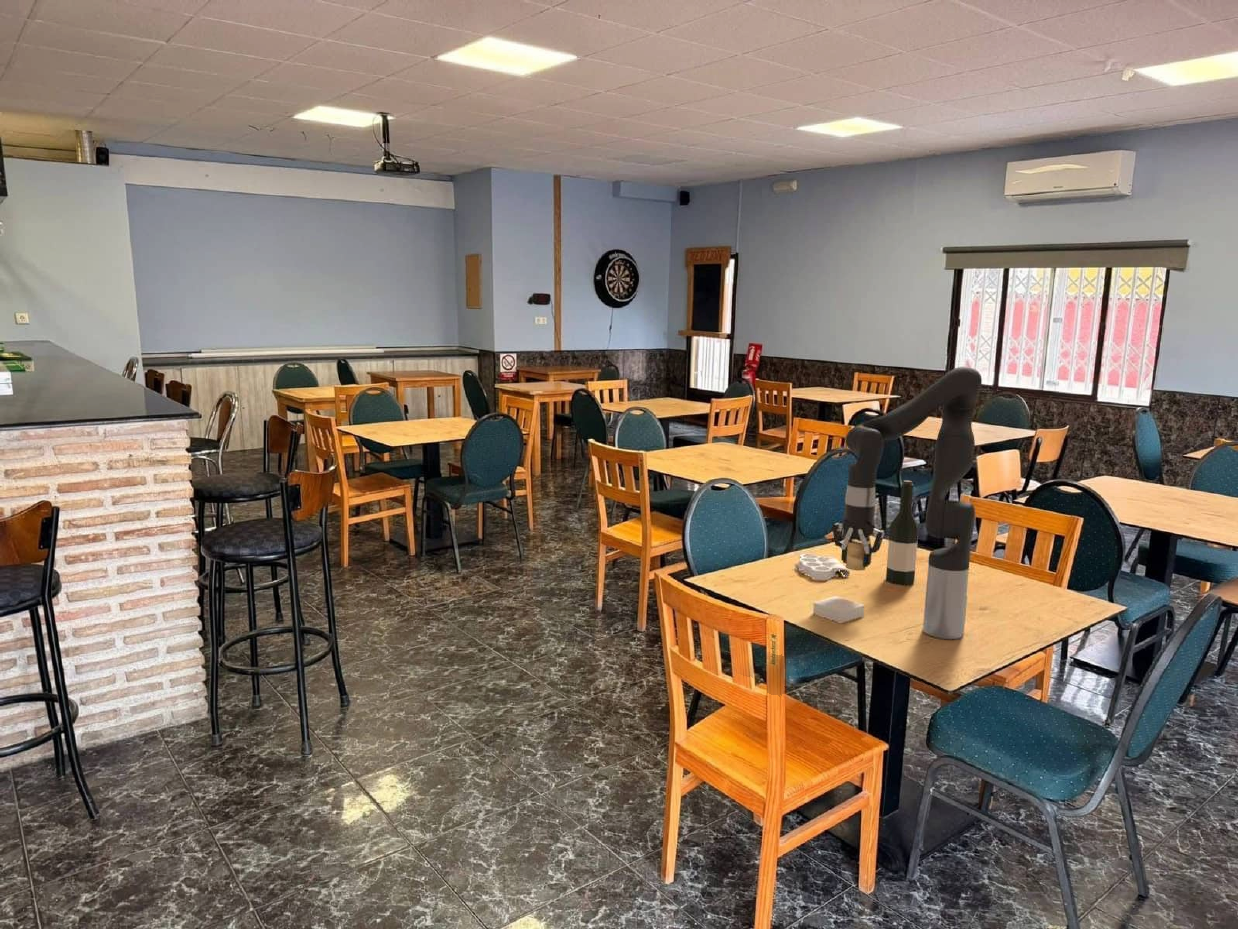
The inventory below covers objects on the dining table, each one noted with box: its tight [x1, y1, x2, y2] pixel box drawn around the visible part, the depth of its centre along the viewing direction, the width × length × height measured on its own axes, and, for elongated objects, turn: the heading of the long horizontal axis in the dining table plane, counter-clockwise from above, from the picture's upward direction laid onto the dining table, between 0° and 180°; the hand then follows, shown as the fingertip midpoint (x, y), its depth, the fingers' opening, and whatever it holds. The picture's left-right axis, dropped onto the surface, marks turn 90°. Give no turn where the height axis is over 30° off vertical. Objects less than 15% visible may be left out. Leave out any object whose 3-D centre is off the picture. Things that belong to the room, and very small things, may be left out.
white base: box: [812, 595, 865, 624], centre depth 216 cm, size 9×9×3 cm
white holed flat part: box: [793, 553, 851, 581], centre depth 252 cm, size 3×18×15 cm
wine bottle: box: [885, 479, 920, 587], centre depth 242 cm, size 8×8×30 cm
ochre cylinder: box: [845, 540, 866, 571], centre depth 222 cm, size 5×5×7 cm
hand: (855, 564), depth 222 cm, fingers closed on ochre cylinder, 5 cm apart
